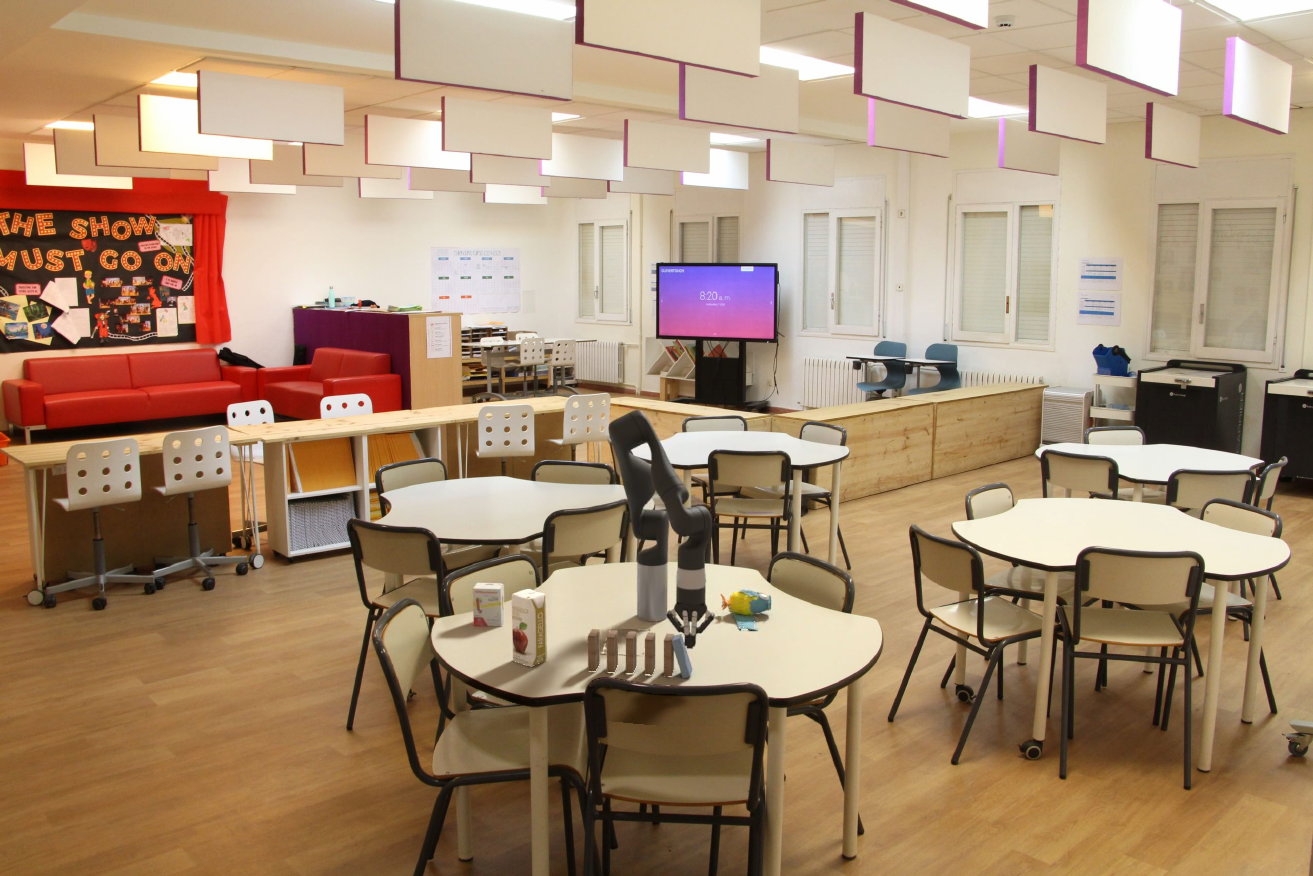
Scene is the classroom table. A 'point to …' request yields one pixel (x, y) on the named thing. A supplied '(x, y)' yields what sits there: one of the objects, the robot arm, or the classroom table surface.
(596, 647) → the domino
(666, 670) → the domino
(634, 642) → the domino
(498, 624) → the ink box
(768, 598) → the toy airplane
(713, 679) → the classroom table surface
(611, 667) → the domino
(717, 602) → the classroom table surface
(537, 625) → the juice carton
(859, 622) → the classroom table surface
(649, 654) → the domino
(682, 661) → the blue domino
